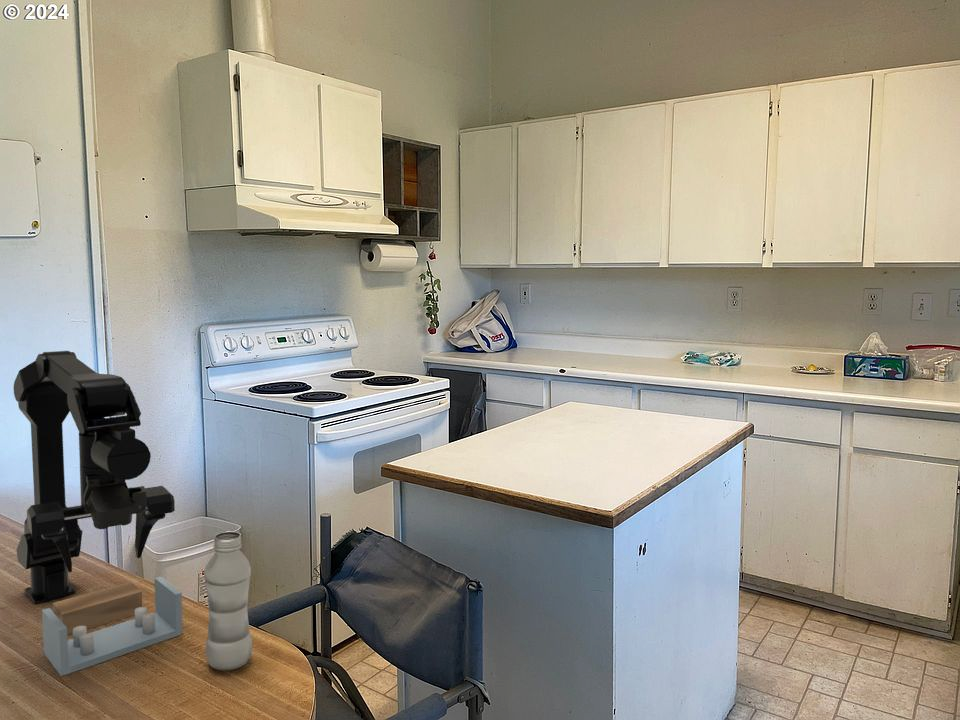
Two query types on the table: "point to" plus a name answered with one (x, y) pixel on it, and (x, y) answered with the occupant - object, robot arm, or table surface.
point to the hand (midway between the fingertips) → (104, 564)
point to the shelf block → (99, 606)
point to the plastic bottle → (228, 604)
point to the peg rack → (113, 633)
